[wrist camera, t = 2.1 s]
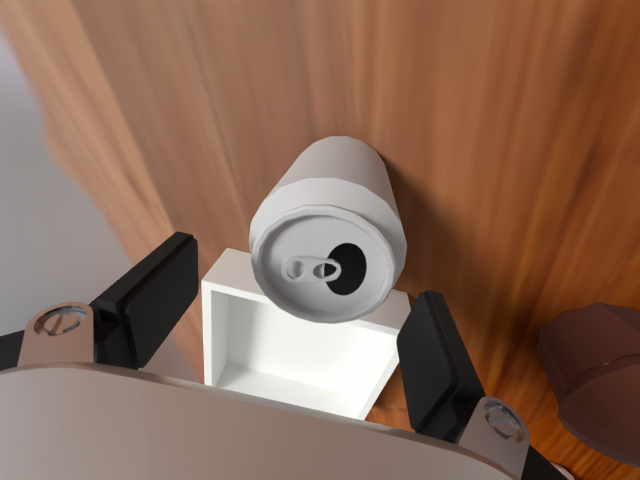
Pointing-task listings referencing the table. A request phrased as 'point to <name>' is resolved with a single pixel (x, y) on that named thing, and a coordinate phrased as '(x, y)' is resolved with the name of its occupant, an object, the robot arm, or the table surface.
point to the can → (329, 234)
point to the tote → (294, 345)
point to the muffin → (597, 376)
